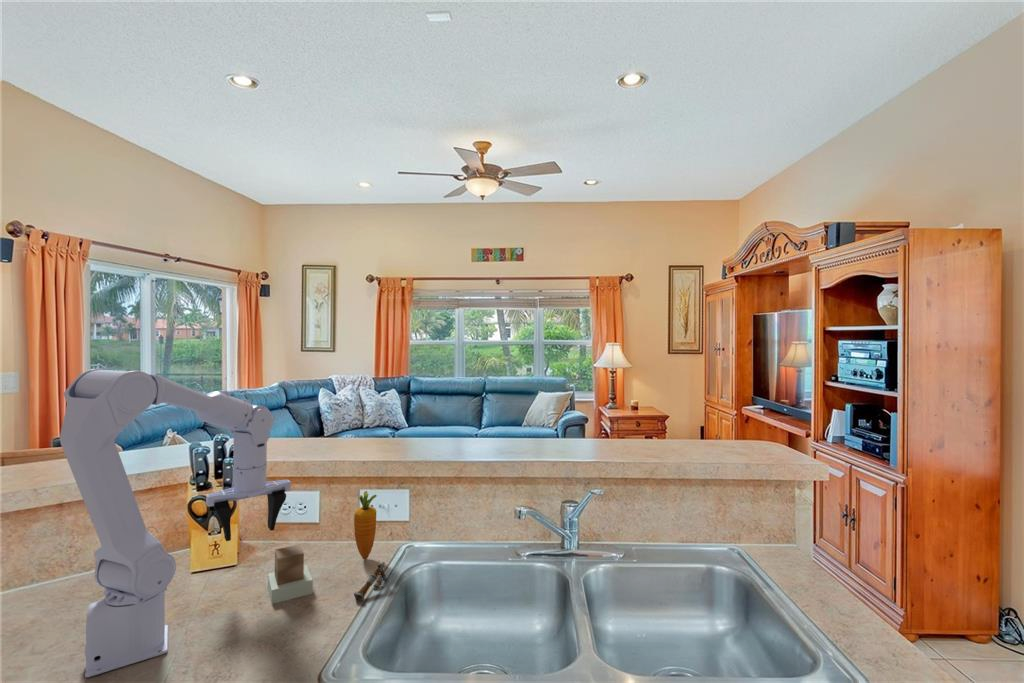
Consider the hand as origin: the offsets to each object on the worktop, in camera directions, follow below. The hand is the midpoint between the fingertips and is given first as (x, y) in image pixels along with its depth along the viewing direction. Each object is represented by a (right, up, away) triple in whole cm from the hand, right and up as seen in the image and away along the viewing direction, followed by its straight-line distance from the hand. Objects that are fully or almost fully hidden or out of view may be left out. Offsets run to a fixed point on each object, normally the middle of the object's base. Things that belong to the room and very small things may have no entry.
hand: (249, 533), depth 93 cm
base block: (+9, -11, -2) cm, 14 cm away
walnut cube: (+9, -8, -2) cm, 12 cm away
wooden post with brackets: (+25, -11, -2) cm, 27 cm away
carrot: (+20, -10, +11) cm, 24 cm away
